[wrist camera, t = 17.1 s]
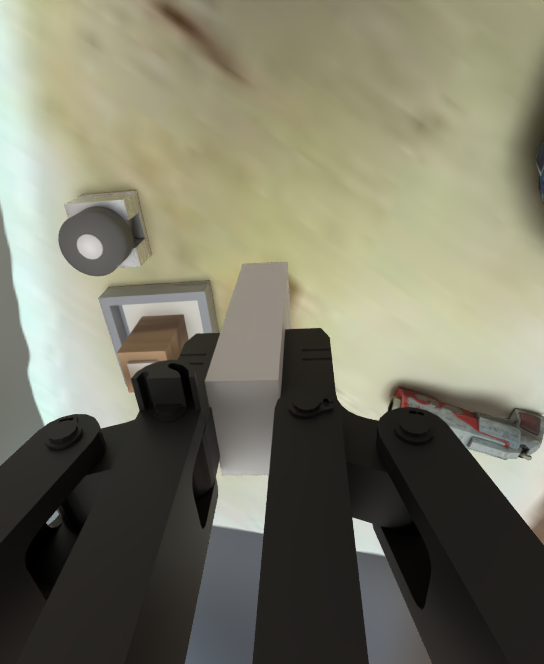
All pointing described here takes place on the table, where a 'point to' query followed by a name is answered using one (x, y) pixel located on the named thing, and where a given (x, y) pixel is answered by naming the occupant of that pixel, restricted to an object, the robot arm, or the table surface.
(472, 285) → the table surface
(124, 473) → the robot arm
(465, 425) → the toy gun
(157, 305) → the chassis bay
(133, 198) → the axle mount
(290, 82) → the table surface
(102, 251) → the wheel
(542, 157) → the decorative bowl
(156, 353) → the walnut block
